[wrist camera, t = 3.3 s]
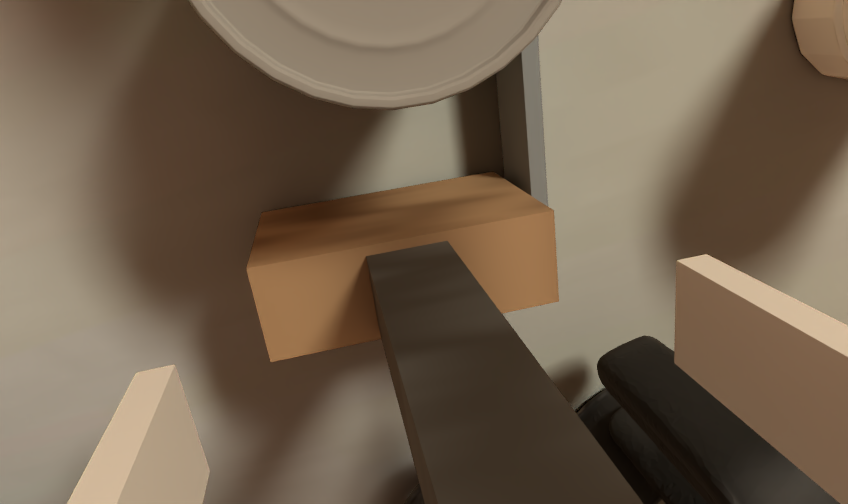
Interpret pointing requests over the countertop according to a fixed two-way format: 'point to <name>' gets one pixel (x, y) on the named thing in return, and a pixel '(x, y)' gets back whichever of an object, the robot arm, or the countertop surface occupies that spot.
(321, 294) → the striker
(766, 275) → the countertop surface
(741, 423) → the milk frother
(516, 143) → the frame
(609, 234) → the countertop surface
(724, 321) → the robot arm
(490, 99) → the countertop surface
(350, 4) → the canned tomato
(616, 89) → the countertop surface
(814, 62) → the white cup
